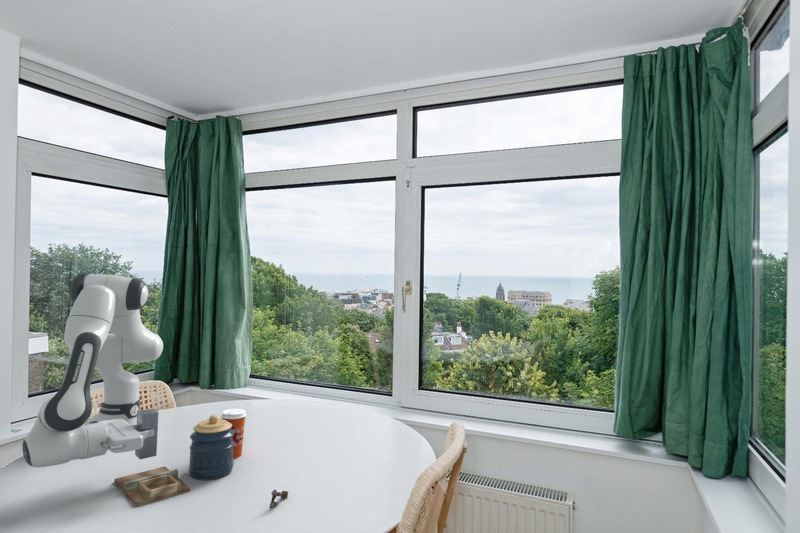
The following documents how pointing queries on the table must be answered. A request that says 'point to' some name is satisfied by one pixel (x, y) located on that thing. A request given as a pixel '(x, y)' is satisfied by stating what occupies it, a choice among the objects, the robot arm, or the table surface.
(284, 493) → the wooden post with brackets
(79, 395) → the robot arm
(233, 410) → the coffee cup
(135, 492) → the door board
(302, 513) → the table surface
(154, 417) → the bar
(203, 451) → the canister
